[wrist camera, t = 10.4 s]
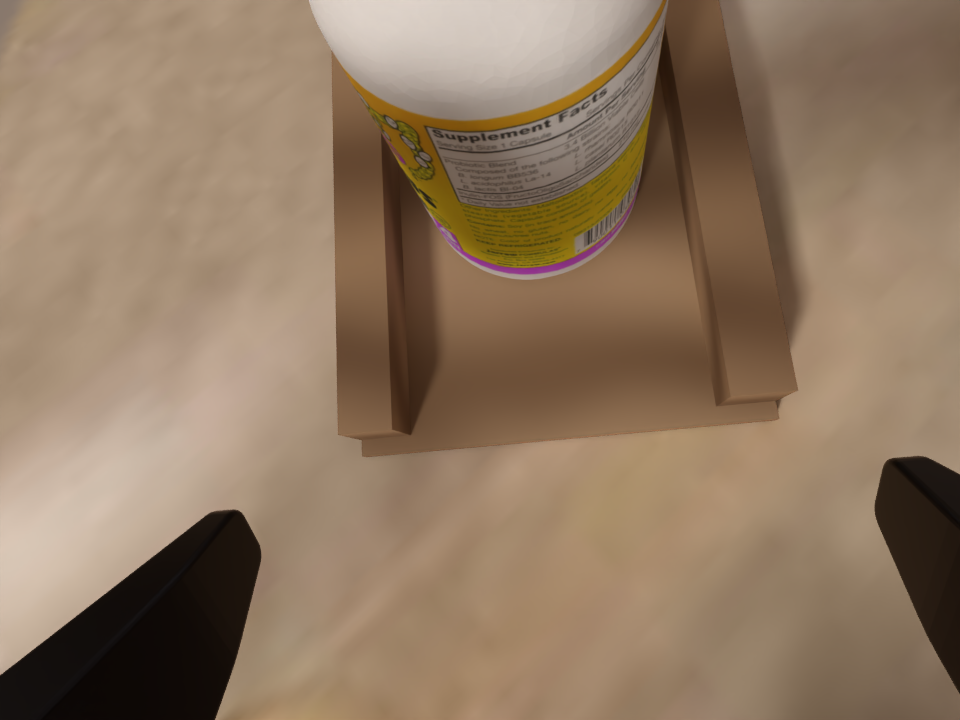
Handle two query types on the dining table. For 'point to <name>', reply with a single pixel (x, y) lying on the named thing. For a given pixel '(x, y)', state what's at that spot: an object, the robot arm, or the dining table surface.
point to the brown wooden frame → (565, 289)
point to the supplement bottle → (509, 116)
